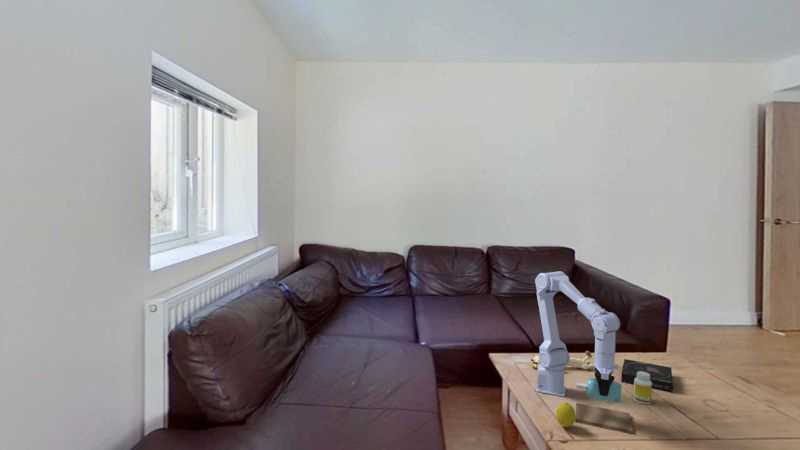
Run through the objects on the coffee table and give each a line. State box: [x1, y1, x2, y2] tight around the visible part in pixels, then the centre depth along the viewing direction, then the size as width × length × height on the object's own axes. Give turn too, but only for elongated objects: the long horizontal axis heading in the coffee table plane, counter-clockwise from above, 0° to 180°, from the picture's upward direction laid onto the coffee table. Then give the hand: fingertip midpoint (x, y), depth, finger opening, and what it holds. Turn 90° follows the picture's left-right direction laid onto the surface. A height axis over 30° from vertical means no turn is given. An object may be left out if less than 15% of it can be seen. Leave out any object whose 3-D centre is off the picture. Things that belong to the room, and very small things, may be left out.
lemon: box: [555, 401, 576, 429], centre depth 127 cm, size 6×6×8 cm
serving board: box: [574, 402, 634, 435], centre depth 131 cm, size 16×11×1 cm
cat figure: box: [529, 350, 595, 372], centre depth 170 cm, size 10×9×25 cm
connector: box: [576, 377, 622, 404], centre depth 131 cm, size 13×4×5 cm, turn 65°
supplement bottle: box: [633, 371, 653, 405], centre depth 143 cm, size 5×5×10 cm
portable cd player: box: [620, 358, 674, 394], centre depth 160 cm, size 16×17×4 cm
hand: (603, 392), depth 131 cm, fingers closed on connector, 4 cm apart
